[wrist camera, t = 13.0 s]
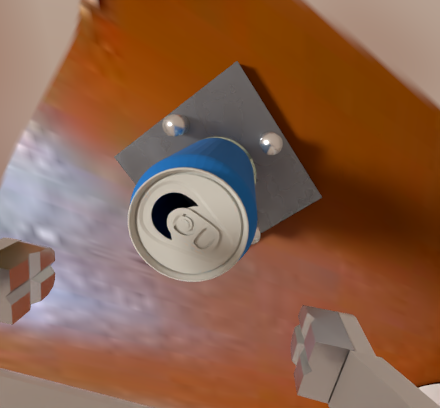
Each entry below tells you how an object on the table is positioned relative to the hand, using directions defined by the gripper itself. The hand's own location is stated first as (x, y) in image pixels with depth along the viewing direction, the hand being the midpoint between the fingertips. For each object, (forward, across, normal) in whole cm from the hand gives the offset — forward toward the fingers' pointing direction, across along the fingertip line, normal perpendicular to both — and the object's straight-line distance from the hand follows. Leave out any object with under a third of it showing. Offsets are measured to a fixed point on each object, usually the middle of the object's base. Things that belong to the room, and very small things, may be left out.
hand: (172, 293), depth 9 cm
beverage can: (+16, +1, -1) cm, 16 cm away
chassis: (+17, +1, 0) cm, 17 cm away
